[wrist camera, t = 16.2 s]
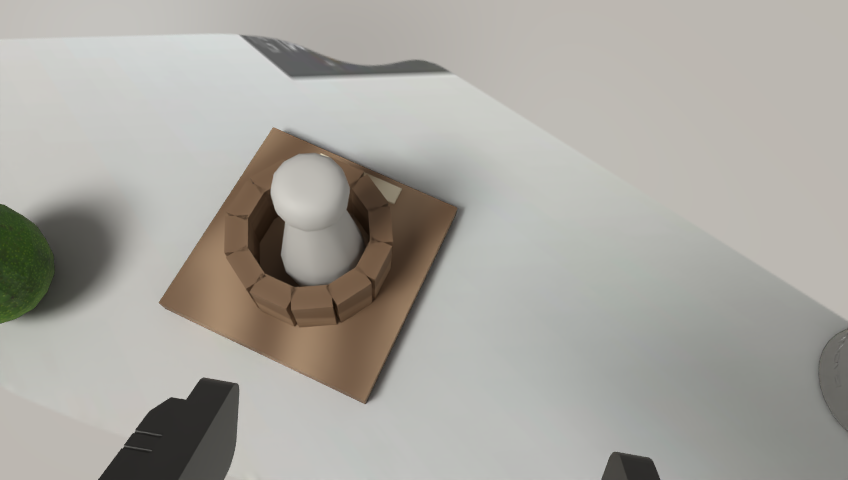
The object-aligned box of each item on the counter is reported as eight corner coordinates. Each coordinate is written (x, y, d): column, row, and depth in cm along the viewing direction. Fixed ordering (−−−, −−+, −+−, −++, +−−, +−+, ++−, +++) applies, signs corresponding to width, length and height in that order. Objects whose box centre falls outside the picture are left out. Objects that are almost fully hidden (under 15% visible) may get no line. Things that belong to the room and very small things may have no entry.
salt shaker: (294, 222, 46) (265, 127, 34) (370, 230, 47) (368, 139, 35) (279, 296, 44) (243, 223, 32) (360, 305, 44) (354, 236, 32)
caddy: (455, 215, 49) (465, 180, 44) (365, 404, 43) (363, 390, 38) (276, 137, 51) (263, 93, 45) (165, 308, 45) (135, 282, 39)
